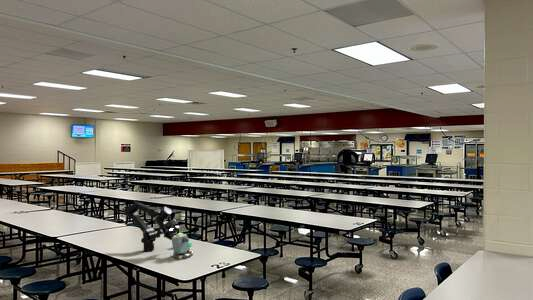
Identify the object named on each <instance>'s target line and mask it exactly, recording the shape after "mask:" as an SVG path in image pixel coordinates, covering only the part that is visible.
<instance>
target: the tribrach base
mask: <svg viewBox="0 0 533 300" xmlns="http://www.w3.org/2000/svg"><path fill="white" fill-rule="evenodd" d="M192 256H194V251H190V250H188V251H186V252H183V253H179V254H178V253H175V254H174V253H173V254H172V258H173V259H175V260H178V261H181V260H186V259H187V260H188V259H190V258H191V257H192Z"/></svg>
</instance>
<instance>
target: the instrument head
mask: <svg viewBox="0 0 533 300" xmlns="http://www.w3.org/2000/svg"><path fill="white" fill-rule="evenodd" d="M182 233H183V232H179V233H175V235H174V237H172V240H171V244H172V249H173V254H175V253H178V254H179V253H183V252H186V251H188V250H189V251H190V250H191V249H190V246H189V242H190V241H189V240H190V239H189V237H188V235H187V233H184V235H182Z"/></svg>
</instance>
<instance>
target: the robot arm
mask: <svg viewBox="0 0 533 300" xmlns="http://www.w3.org/2000/svg"><path fill="white" fill-rule="evenodd" d="M138 211H142V212H144V213H145V214H147V215H148V216H149V217H150V218H153V223H154V224H155V223H156V224H157V225H158V230H157V231H156V230H155V229H154V227H148V225H147V223H145V221H144V220H143V219H142V217H141V216H140V215H139V213H138ZM123 213H124V215H125V216H126V217H128V218H130V219H132V221H133V222H134V223H135V225H136V226H137V227H138V229H140V231H141V232H142V238H141V244H143V250H142V252H146V253H147V252H153V251H154V250H155V241H156V239H159V238H161V235H163V238H166V239H168V240H169V241H172V237H175V234H177V232H178V231H179V230H180V229H181V228H180V225H176V224H177V220H176V218H173V219H171V220H169V221H167V219H168V218H169V217H170V216H171V214H172V209H171V208H169V207H167V206H163V208H162V209H161V208H159V207H151V206H149V205H146V204H144V203H142V202H138V201H137V202H134V203H133V204H131V205H129V206H126V207H125V208H124V210H123Z"/></svg>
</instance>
